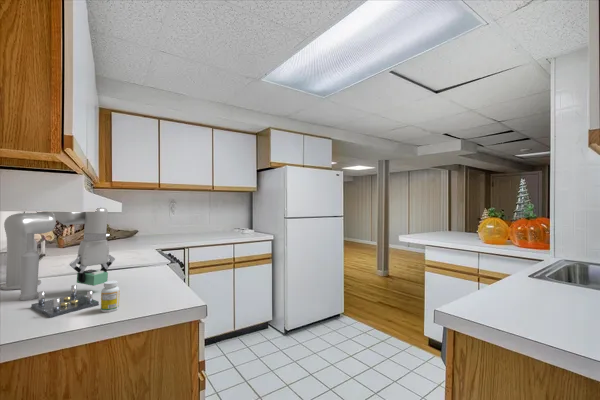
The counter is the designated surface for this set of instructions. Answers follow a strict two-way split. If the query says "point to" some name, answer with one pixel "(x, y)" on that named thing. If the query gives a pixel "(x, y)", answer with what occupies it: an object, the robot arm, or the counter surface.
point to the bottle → (29, 271)
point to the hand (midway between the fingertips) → (92, 279)
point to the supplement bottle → (110, 296)
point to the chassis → (64, 303)
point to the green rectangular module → (94, 277)
